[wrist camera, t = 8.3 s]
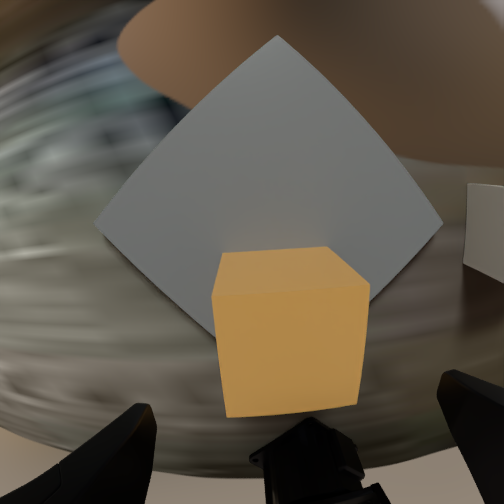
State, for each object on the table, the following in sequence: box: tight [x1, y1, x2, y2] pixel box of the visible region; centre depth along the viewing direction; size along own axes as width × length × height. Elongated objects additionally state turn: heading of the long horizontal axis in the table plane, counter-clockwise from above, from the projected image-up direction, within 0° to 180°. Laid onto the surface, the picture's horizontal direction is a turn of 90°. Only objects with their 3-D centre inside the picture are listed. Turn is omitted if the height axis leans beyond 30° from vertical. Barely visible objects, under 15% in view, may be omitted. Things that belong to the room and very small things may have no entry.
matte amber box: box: [211, 247, 370, 417], centre depth 14 cm, size 5×5×6 cm
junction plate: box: [93, 35, 443, 338], centre depth 15 cm, size 14×14×5 cm
